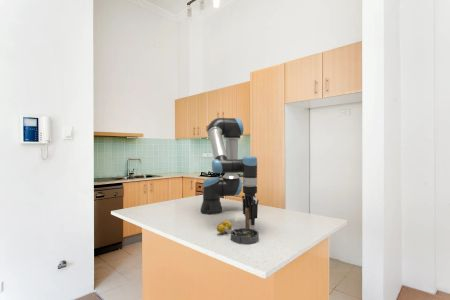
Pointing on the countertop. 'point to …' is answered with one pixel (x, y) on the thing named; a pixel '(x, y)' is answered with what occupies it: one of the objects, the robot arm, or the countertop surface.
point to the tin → (245, 236)
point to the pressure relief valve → (225, 227)
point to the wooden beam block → (247, 217)
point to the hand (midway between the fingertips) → (249, 229)
